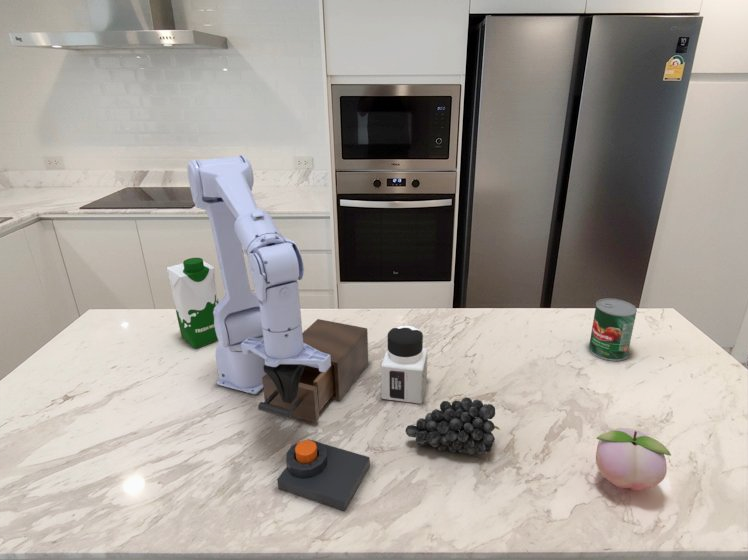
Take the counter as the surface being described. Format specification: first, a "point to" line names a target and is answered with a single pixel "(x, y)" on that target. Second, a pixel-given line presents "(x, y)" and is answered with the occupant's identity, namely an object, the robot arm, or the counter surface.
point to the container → (404, 366)
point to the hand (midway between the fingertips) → (290, 399)
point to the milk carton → (194, 300)
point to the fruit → (457, 427)
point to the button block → (325, 475)
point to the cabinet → (340, 350)
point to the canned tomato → (612, 329)
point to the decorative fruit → (631, 459)
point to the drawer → (301, 395)
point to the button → (306, 451)
